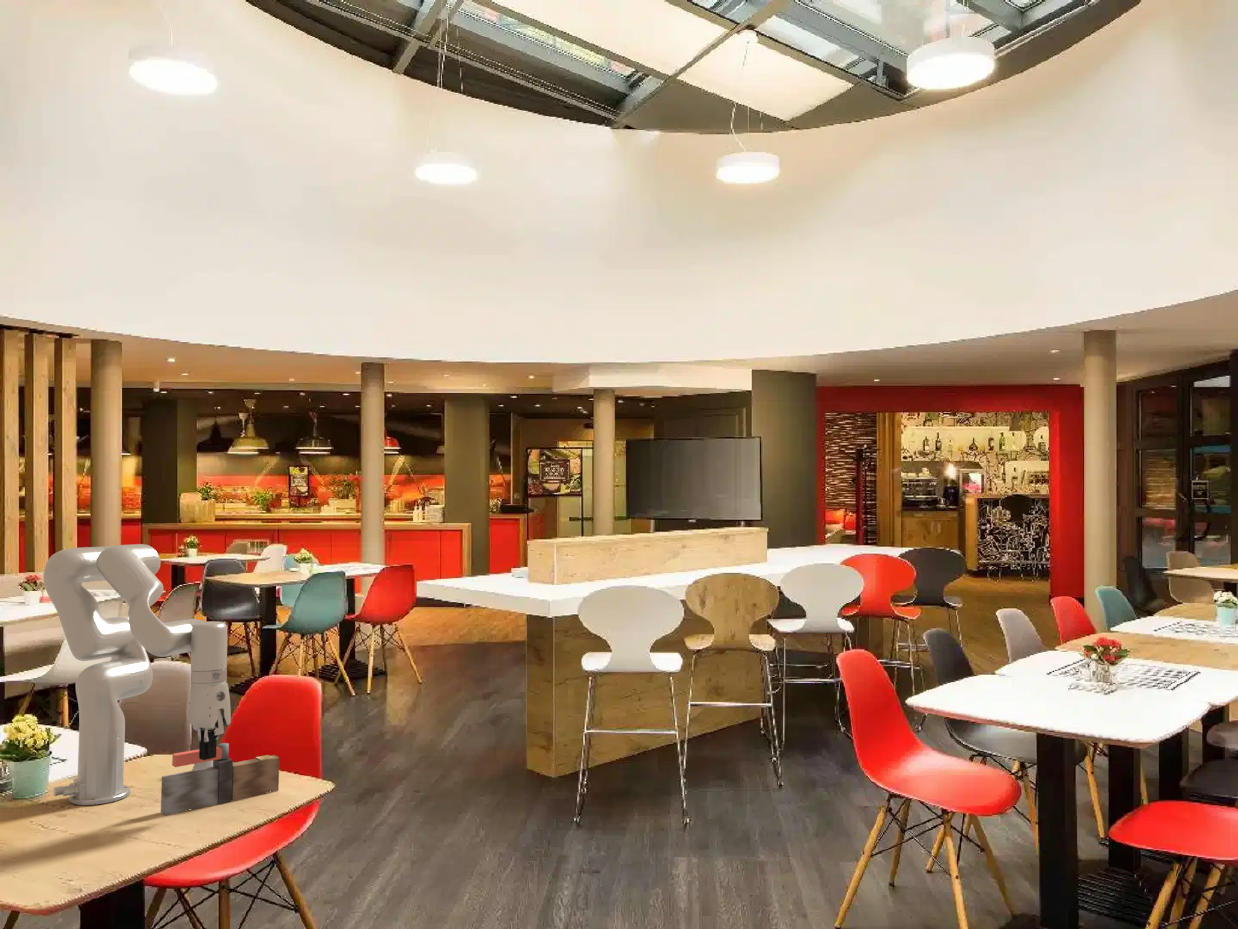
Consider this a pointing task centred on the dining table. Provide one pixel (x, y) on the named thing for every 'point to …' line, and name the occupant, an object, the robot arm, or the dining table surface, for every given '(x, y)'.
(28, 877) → the dining table surface
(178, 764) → the swing bar
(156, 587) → the robot arm
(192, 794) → the two-tone wood plank
